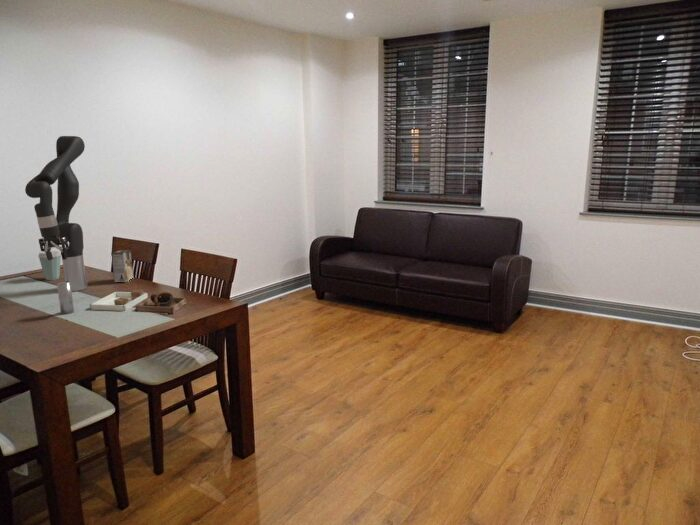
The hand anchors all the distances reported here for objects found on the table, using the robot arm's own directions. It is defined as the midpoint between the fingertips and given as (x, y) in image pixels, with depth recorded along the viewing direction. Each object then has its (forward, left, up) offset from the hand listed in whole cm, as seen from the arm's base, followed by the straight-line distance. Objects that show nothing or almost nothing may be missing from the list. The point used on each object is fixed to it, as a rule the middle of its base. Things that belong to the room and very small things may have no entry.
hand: (57, 259), depth 235 cm
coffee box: (-33, +12, -19) cm, 39 cm away
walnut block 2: (+1, +38, -18) cm, 42 cm away
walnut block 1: (+14, +38, -18) cm, 44 cm away
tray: (+7, +33, -18) cm, 39 cm away
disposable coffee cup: (-32, -28, -19) cm, 46 cm away
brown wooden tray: (+9, +54, -18) cm, 58 cm away
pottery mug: (+9, +54, -19) cm, 58 cm away
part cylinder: (+22, +18, -18) cm, 34 cm away
